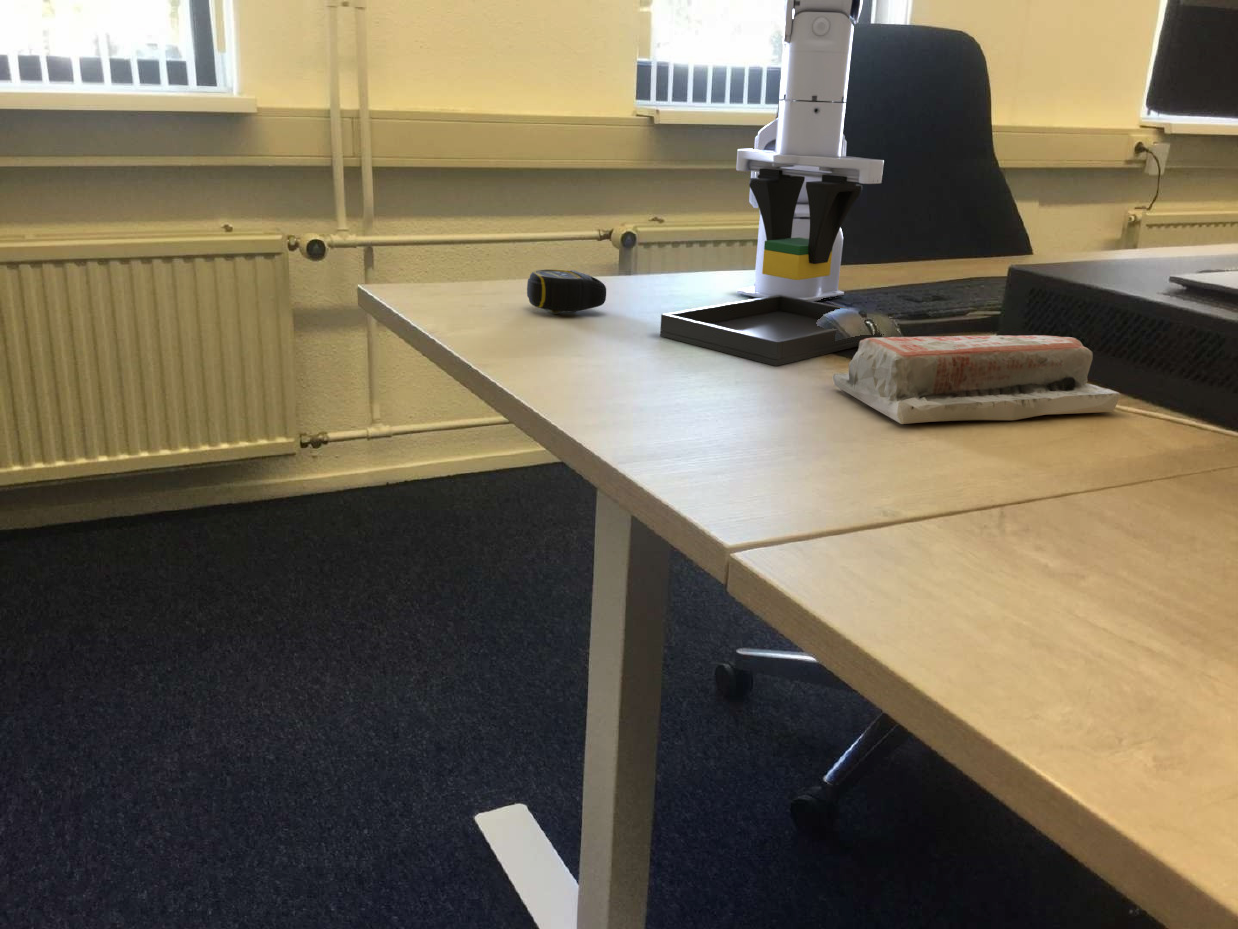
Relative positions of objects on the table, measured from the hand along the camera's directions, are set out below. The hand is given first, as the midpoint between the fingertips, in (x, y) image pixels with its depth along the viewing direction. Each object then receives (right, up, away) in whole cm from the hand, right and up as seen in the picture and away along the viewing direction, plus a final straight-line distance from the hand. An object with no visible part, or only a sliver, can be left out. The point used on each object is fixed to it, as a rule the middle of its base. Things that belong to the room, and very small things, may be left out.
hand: (797, 259), depth 95 cm
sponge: (0, -1, 0) cm, 1 cm away
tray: (-2, -7, 0) cm, 7 cm away
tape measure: (-22, -4, +8) cm, 23 cm away
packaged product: (+10, -14, -18) cm, 25 cm away
